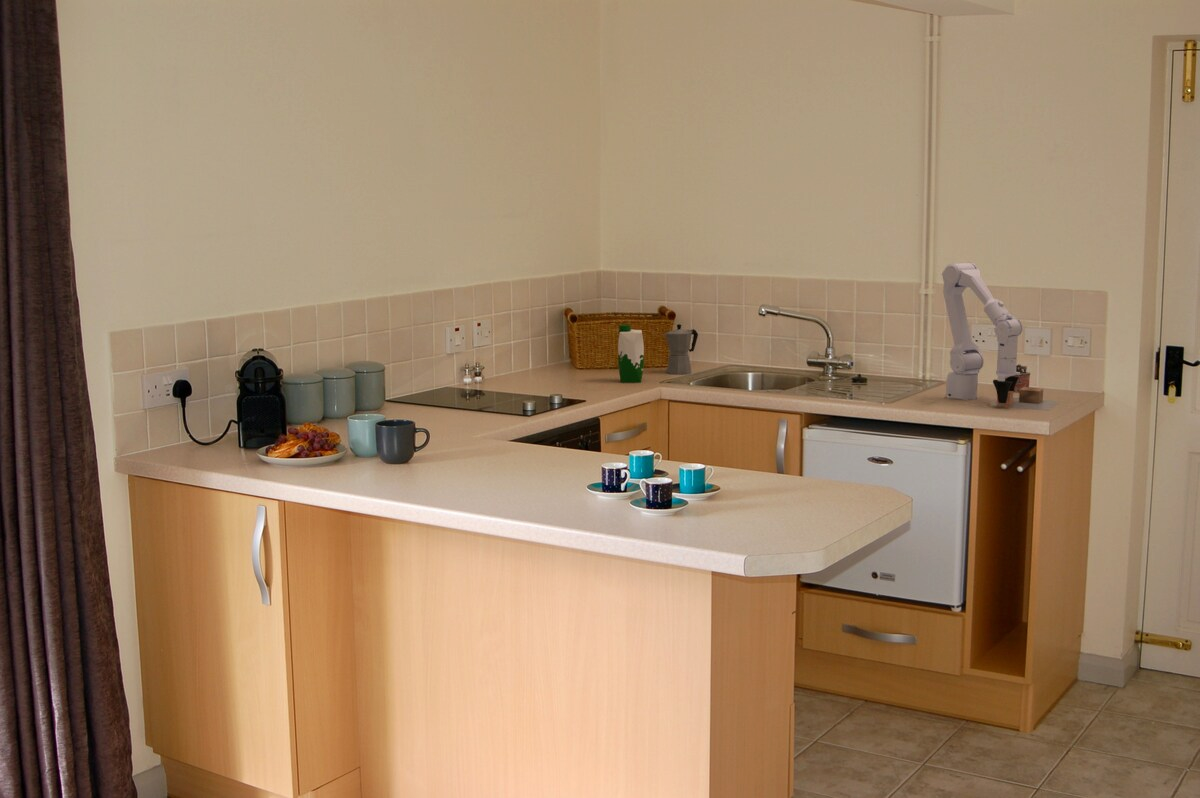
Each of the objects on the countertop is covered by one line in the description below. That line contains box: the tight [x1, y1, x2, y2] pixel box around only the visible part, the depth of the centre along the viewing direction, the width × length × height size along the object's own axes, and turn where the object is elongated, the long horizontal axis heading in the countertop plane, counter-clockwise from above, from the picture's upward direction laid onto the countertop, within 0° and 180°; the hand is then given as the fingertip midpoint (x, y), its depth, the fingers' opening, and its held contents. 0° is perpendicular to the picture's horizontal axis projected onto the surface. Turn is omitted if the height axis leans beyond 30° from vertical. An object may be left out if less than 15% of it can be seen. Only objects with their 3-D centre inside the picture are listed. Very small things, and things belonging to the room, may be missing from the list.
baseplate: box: [988, 396, 1061, 411], centre depth 401 cm, size 18×18×1 cm
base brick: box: [1018, 386, 1044, 404], centre depth 403 cm, size 6×6×4 cm
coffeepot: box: [664, 323, 699, 376], centre depth 472 cm, size 15×9×18 cm, turn 125°
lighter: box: [1013, 363, 1031, 393], centre depth 422 cm, size 8×3×10 cm, turn 65°
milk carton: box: [617, 324, 645, 384], centre depth 453 cm, size 9×9×20 cm
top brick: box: [996, 391, 1014, 406], centre depth 399 cm, size 4×4×4 cm
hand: (1005, 401), depth 399 cm, fingers open, 7 cm apart
